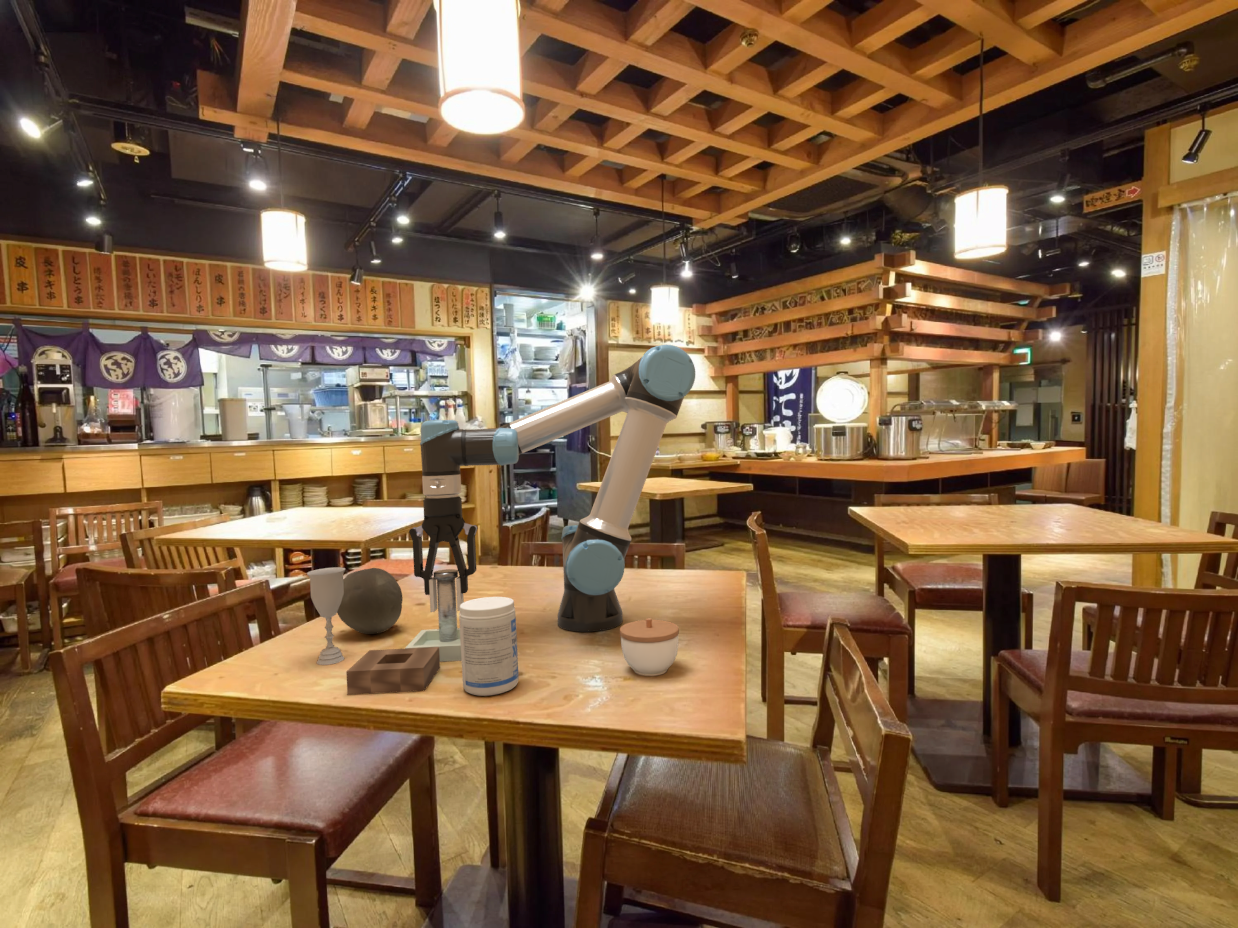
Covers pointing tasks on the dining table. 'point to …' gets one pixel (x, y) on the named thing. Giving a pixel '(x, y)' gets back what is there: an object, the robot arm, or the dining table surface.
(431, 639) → the tray
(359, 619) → the dark grey ball
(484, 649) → the supplement tub
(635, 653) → the lidded jar
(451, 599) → the metal pin
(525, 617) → the dining table surface
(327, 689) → the dining table surface
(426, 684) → the block
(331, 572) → the chalice
